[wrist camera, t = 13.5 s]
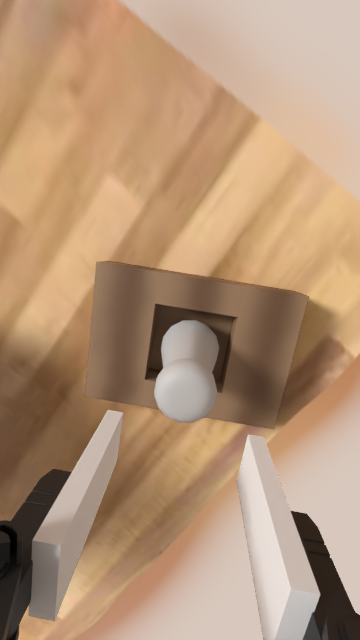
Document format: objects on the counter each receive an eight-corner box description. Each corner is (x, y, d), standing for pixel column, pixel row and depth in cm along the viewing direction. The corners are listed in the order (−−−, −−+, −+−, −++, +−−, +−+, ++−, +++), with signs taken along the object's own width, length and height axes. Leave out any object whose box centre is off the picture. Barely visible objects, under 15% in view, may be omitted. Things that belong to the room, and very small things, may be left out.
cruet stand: (97, 380, 34) (84, 396, 30) (109, 261, 31) (96, 262, 27) (265, 409, 34) (274, 429, 30) (294, 291, 31) (308, 296, 27)
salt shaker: (228, 344, 31) (248, 406, 19) (188, 376, 32) (181, 454, 20) (193, 304, 31) (189, 339, 18) (153, 337, 32) (122, 393, 19)
